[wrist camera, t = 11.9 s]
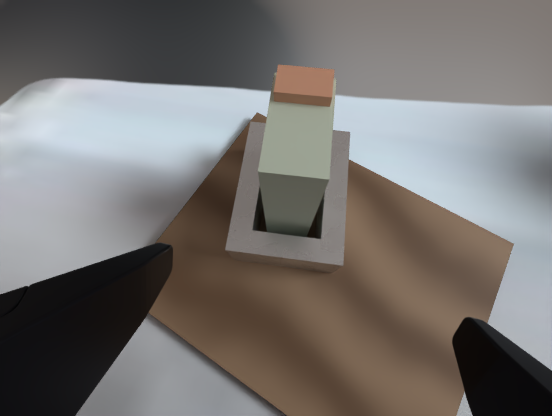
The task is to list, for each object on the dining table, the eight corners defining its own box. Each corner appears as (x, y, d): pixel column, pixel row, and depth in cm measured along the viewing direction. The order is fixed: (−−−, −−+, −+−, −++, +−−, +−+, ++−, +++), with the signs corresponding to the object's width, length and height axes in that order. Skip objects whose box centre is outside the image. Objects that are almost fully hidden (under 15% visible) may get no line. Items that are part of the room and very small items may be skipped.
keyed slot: (331, 273, 21) (343, 265, 17) (234, 260, 21) (225, 249, 17) (338, 159, 24) (350, 131, 20) (254, 149, 25) (250, 121, 21)
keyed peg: (305, 240, 22) (332, 173, 11) (267, 235, 22) (256, 164, 11) (310, 178, 24) (338, 68, 13) (276, 175, 24) (274, 62, 13)
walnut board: (414, 504, 17) (422, 515, 16) (125, 291, 22) (118, 290, 21) (504, 246, 22) (513, 244, 21) (257, 119, 27) (257, 112, 26)
